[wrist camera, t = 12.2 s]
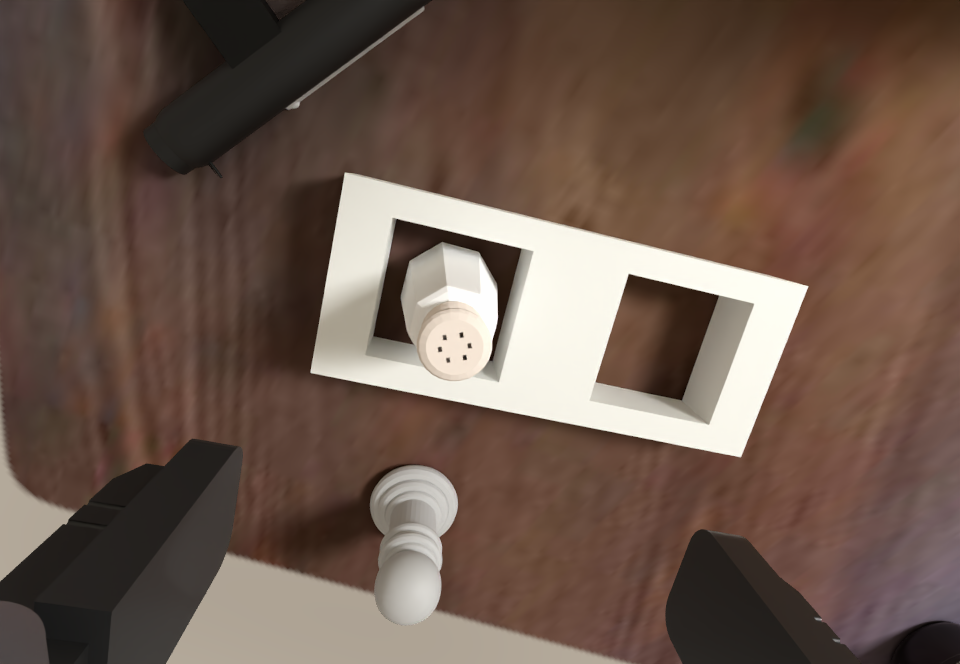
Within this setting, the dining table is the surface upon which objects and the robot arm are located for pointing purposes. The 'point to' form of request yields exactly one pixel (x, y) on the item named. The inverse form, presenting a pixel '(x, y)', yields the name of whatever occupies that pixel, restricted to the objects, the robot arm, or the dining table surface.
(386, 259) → the rail
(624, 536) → the dining table surface
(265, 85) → the door handle
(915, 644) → the supplement bottle
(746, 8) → the dining table surface
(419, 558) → the chess piece
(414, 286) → the salt shaker
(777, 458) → the dining table surface
